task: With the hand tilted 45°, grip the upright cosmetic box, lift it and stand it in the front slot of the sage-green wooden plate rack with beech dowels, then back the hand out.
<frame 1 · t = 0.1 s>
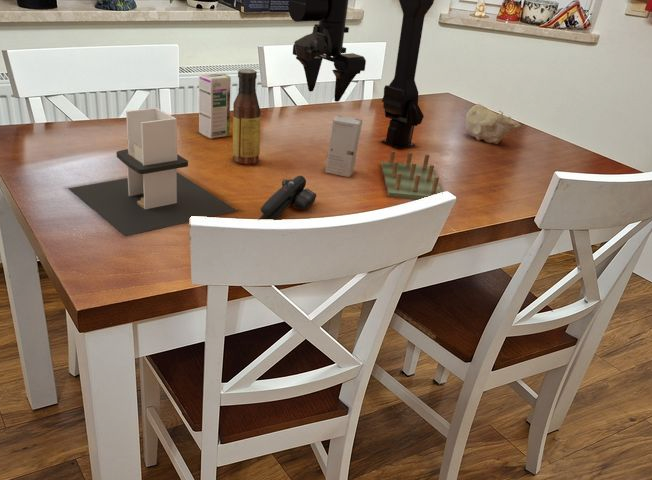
hand: (323, 96, 149), 15 cm above the table, tool pointing down, fingers open, 9 cm apart
syrup box: (213, 135, 167), on the table
beige lumpy chunk: (491, 142, 181), on the table
can opener: (283, 213, 129), on the table
sauce bottle: (245, 161, 152), on the table
cosmetic box: (339, 173, 151), on the table
box holder stand: (152, 200, 129), on the table
plate rack: (410, 182, 149), on the table
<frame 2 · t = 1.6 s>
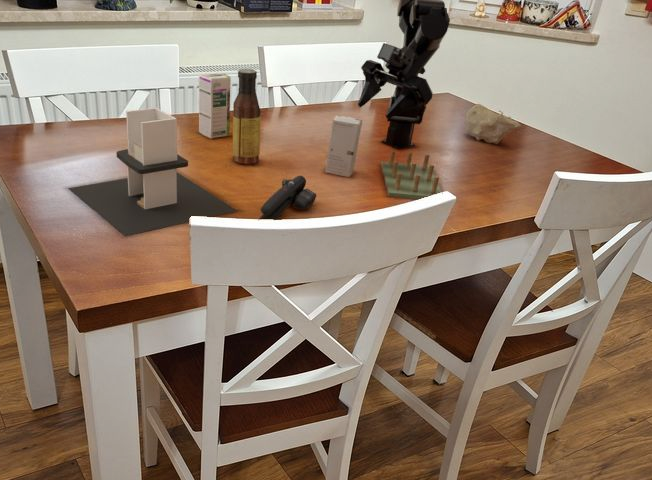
hand: (372, 111, 148), 13 cm above the table, tool tilted 45°, fingers open, 9 cm apart
nothing on the table moved.
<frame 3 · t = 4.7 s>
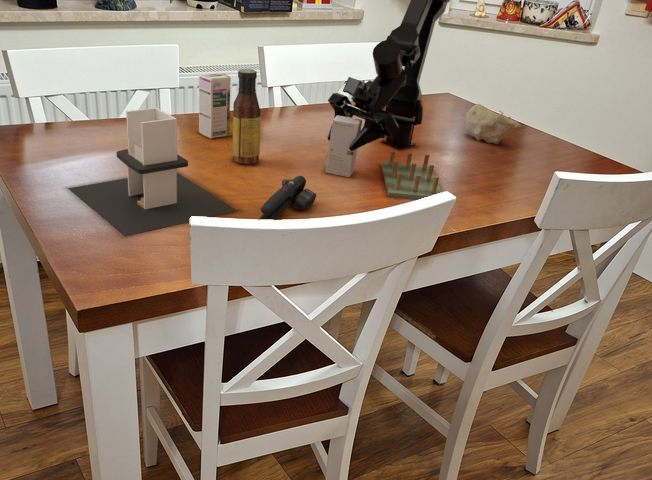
hand: (339, 144, 146), 7 cm above the table, tool tilted 45°, fingers closed on cosmetic box, 7 cm apart
cosmetic box: (339, 173, 151), on the table, touching gripper
everything else where it was.
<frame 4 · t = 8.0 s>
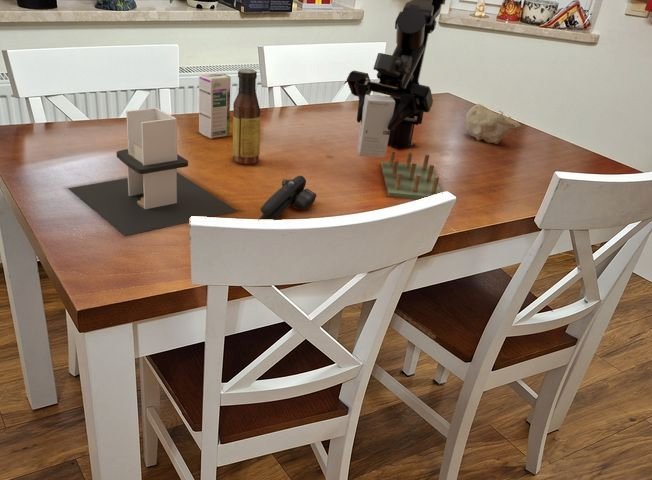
hand: (372, 125, 140), 13 cm above the table, tool tilted 45°, fingers closed on cosmetic box, 7 cm apart
cosmetic box: (371, 154, 145), point 6 cm above the table, touching gripper
everything else where it was.
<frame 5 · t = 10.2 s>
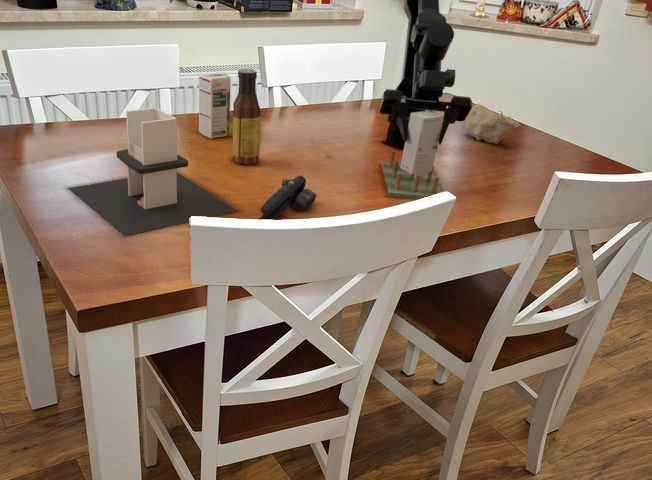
hand: (422, 142, 138), 11 cm above the table, tool tilted 45°, fingers closed on cosmetic box, 7 cm apart
cosmetic box: (415, 170, 143), point 4 cm above the table, touching gripper
everything else where it was.
when the fingers open (8 cm above the table, at t = 11.7 s): cosmetic box stays where it is, resting on plate rack.
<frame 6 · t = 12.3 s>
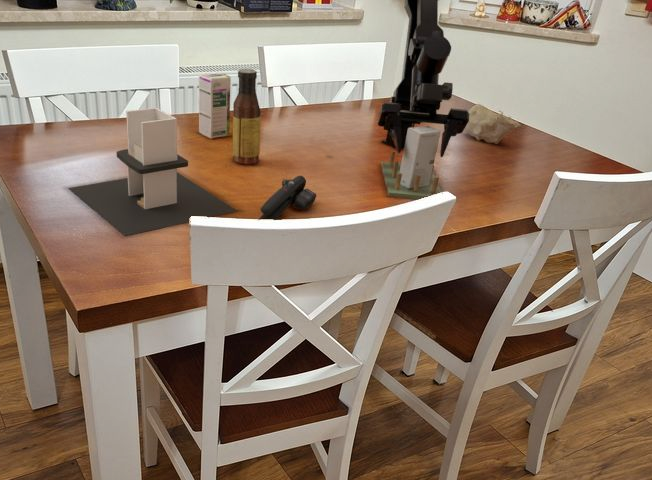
hand: (420, 154, 140), 8 cm above the table, tool tilted 45°, fingers open, 9 cm apart
cosmetic box: (413, 185, 145), point 1 cm above the table, touching plate rack
everything else where it was.
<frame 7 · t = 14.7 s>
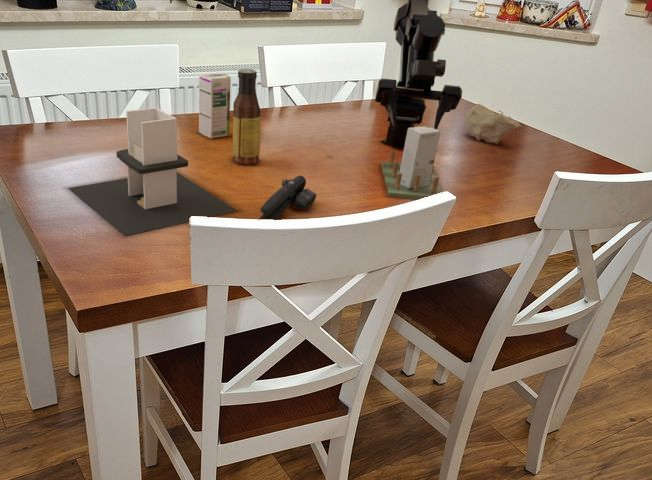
hand: (415, 128, 146), 11 cm above the table, tool tilted 45°, fingers open, 9 cm apart
nothing on the table moved.
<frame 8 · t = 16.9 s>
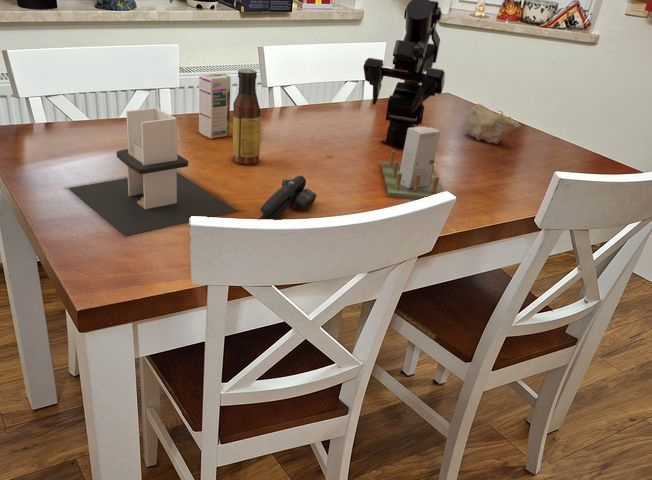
hand: (392, 107, 151), 13 cm above the table, tool tilted 45°, fingers open, 9 cm apart
nothing on the table moved.
at the end: cosmetic box 0.1 cm from the target spot on the plate rack, point 0.8 cm above the plate rack's base; cosmetic box tilted 0°; the gripper is holding nothing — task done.
